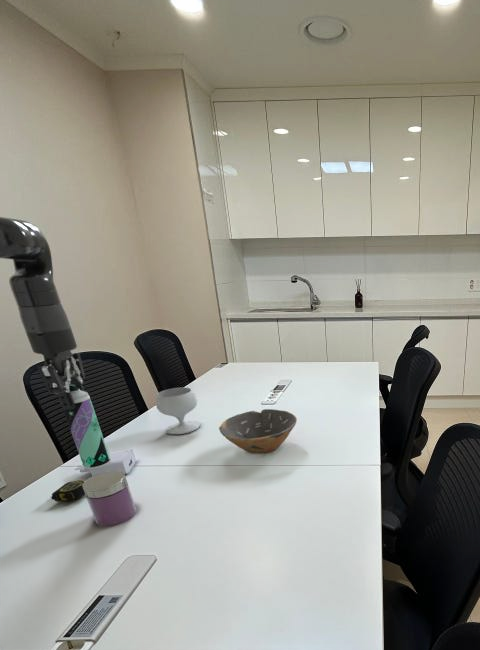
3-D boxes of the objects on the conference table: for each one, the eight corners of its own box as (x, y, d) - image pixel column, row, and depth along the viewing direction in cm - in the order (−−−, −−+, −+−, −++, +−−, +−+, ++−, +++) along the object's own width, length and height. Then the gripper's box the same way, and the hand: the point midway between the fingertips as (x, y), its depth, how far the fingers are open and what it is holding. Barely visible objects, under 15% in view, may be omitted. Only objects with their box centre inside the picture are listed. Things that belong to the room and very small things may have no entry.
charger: (84, 467, 124) (136, 461, 127) (71, 482, 115) (127, 475, 118) (79, 454, 122) (132, 448, 125) (66, 468, 113) (122, 461, 117)
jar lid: (79, 500, 91) (75, 492, 90) (93, 482, 99) (90, 473, 98) (120, 494, 93) (117, 486, 92) (131, 476, 101) (128, 468, 100)
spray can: (82, 465, 93) (52, 385, 85) (108, 457, 97) (82, 379, 89) (86, 472, 90) (56, 390, 82) (113, 464, 93) (87, 384, 85)
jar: (90, 529, 95) (76, 494, 90) (103, 508, 102) (91, 475, 98) (130, 522, 97) (118, 488, 92) (140, 502, 105) (130, 470, 100)
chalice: (189, 437, 143) (180, 398, 137) (155, 435, 145) (144, 397, 139) (209, 422, 156) (201, 386, 150) (178, 421, 158) (169, 386, 152)
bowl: (238, 474, 117) (233, 445, 113) (215, 446, 135) (209, 420, 131) (312, 451, 130) (310, 423, 126) (282, 428, 148) (279, 403, 144)
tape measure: (72, 490, 111) (67, 479, 110) (95, 490, 111) (91, 479, 109) (53, 504, 105) (48, 492, 103) (78, 504, 105) (73, 492, 103)
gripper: (44, 324, 86) (70, 396, 93) (6, 335, 73) (40, 418, 80) (82, 322, 87) (105, 393, 94) (52, 332, 75) (81, 413, 81)
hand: (75, 404), depth 87 cm, fingers closed on spray can, 5 cm apart
